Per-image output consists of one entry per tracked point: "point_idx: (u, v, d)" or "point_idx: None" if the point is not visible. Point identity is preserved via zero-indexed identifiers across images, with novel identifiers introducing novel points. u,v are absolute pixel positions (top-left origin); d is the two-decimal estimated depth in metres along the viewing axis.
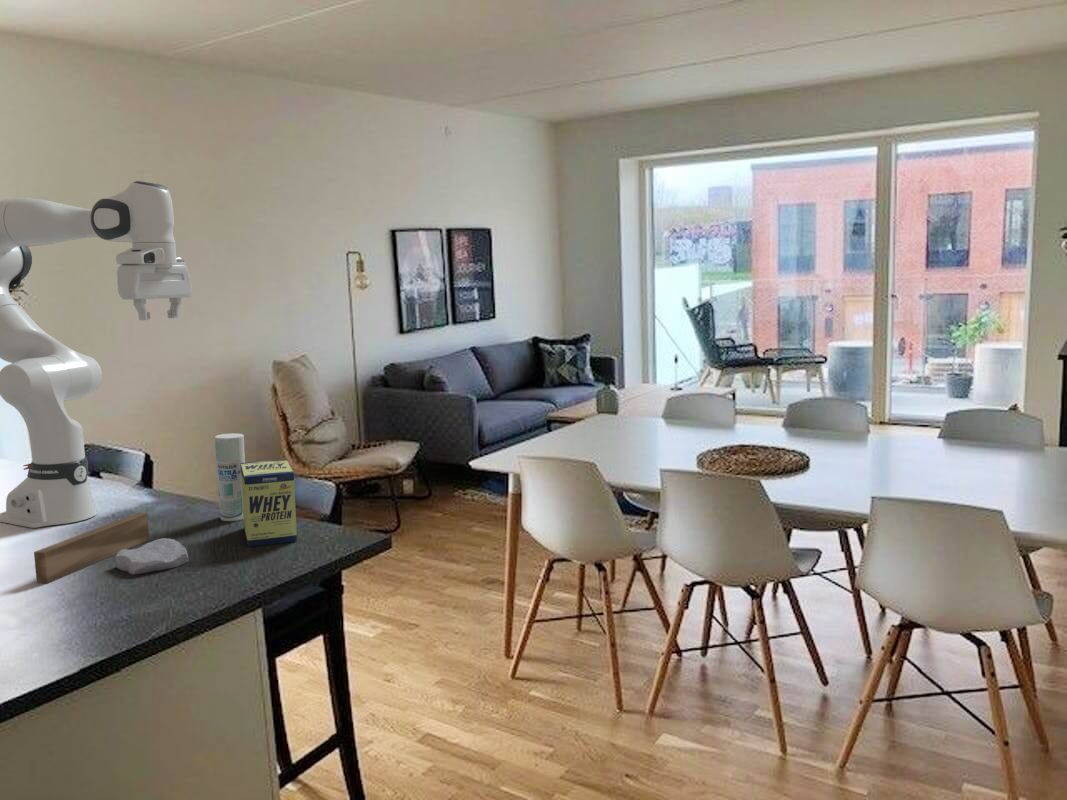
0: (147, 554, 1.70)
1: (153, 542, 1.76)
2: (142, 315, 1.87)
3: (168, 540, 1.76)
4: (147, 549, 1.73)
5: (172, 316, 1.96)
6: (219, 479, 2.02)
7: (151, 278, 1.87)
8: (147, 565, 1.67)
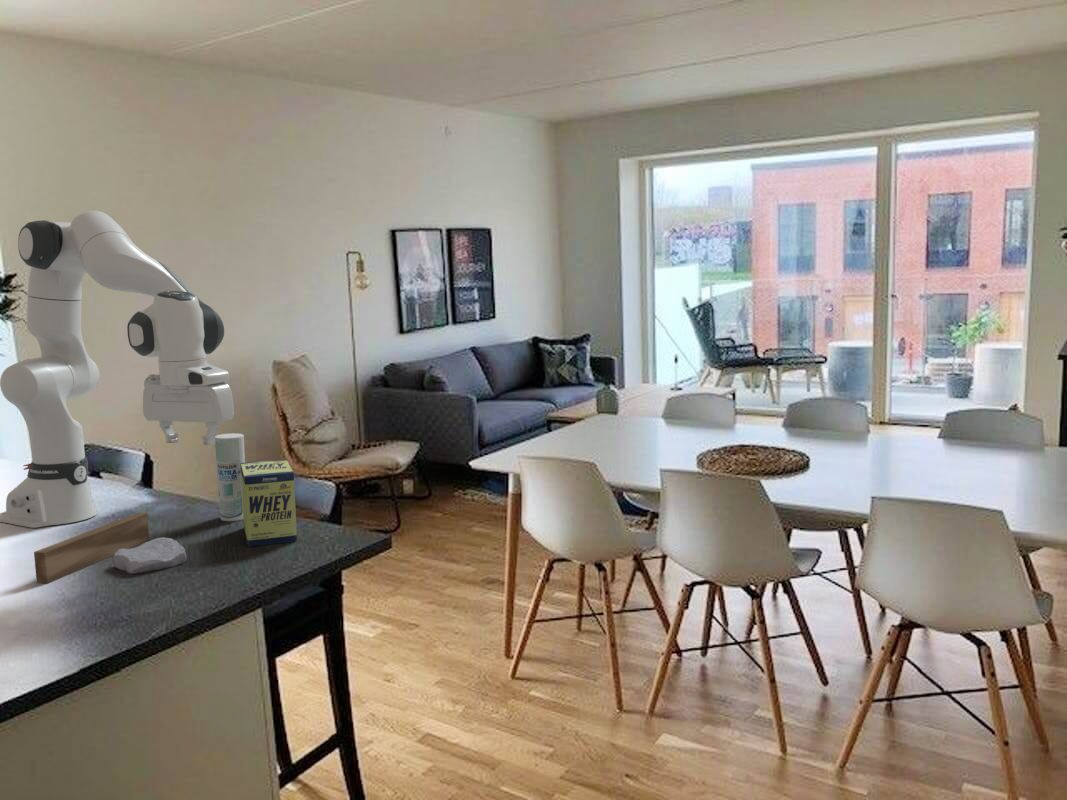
0: (146, 553, 1.71)
1: (151, 541, 1.76)
2: (212, 439, 1.68)
3: (166, 539, 1.76)
4: (145, 548, 1.73)
5: (176, 440, 1.72)
6: (219, 479, 2.02)
7: None
8: (146, 564, 1.68)
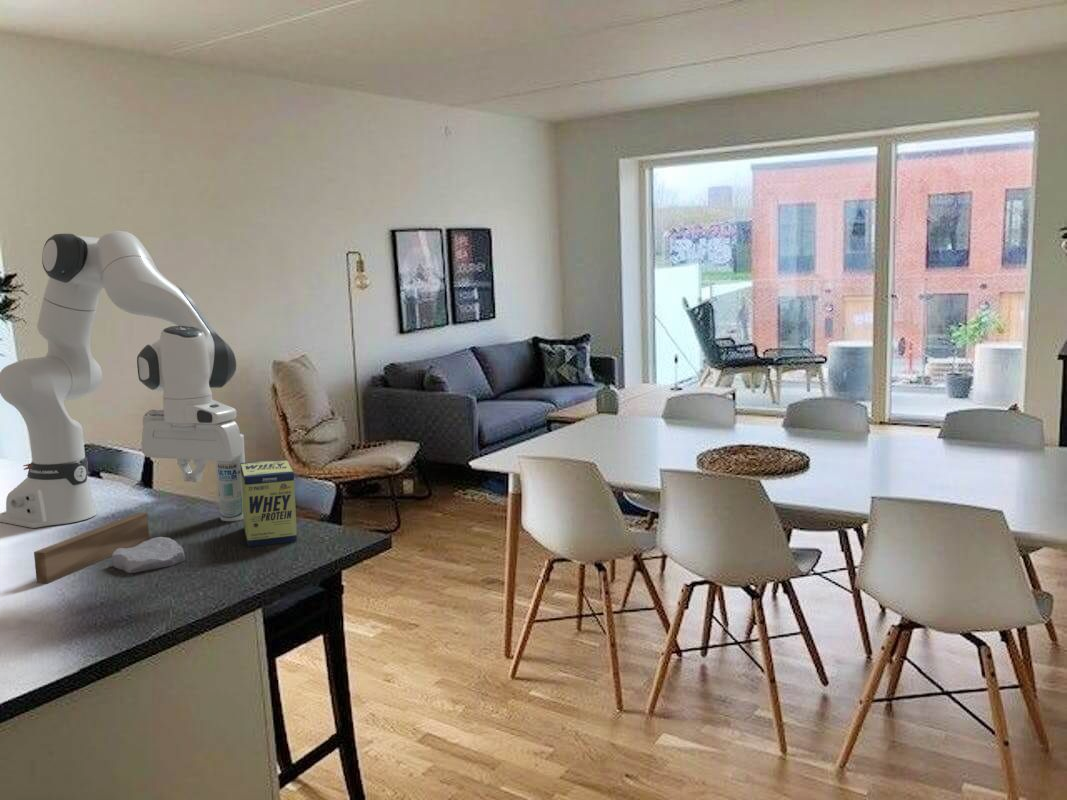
0: (144, 552, 1.71)
1: (149, 541, 1.77)
2: (199, 475, 1.67)
3: (164, 539, 1.77)
4: (143, 548, 1.74)
5: None
6: (219, 479, 2.02)
7: None
8: (144, 563, 1.68)
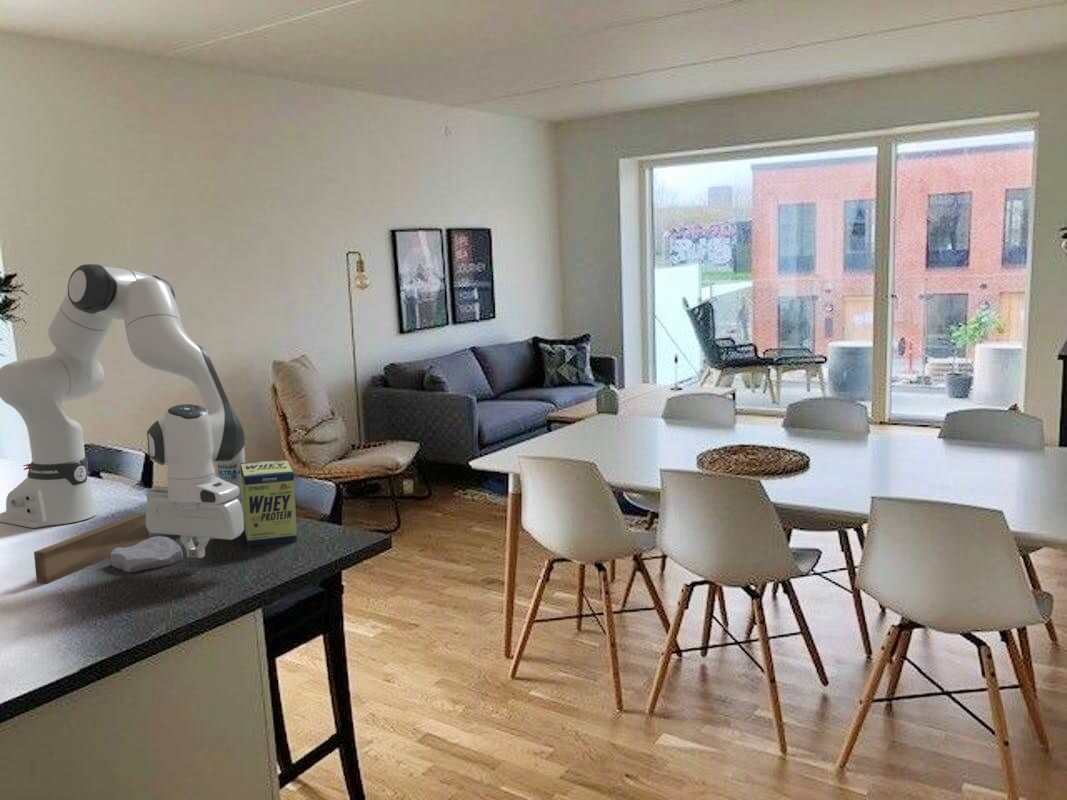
0: (142, 552, 1.71)
1: (147, 540, 1.77)
2: (202, 551, 1.69)
3: (162, 538, 1.77)
4: (141, 547, 1.74)
5: None
6: None
7: None
8: (143, 562, 1.69)
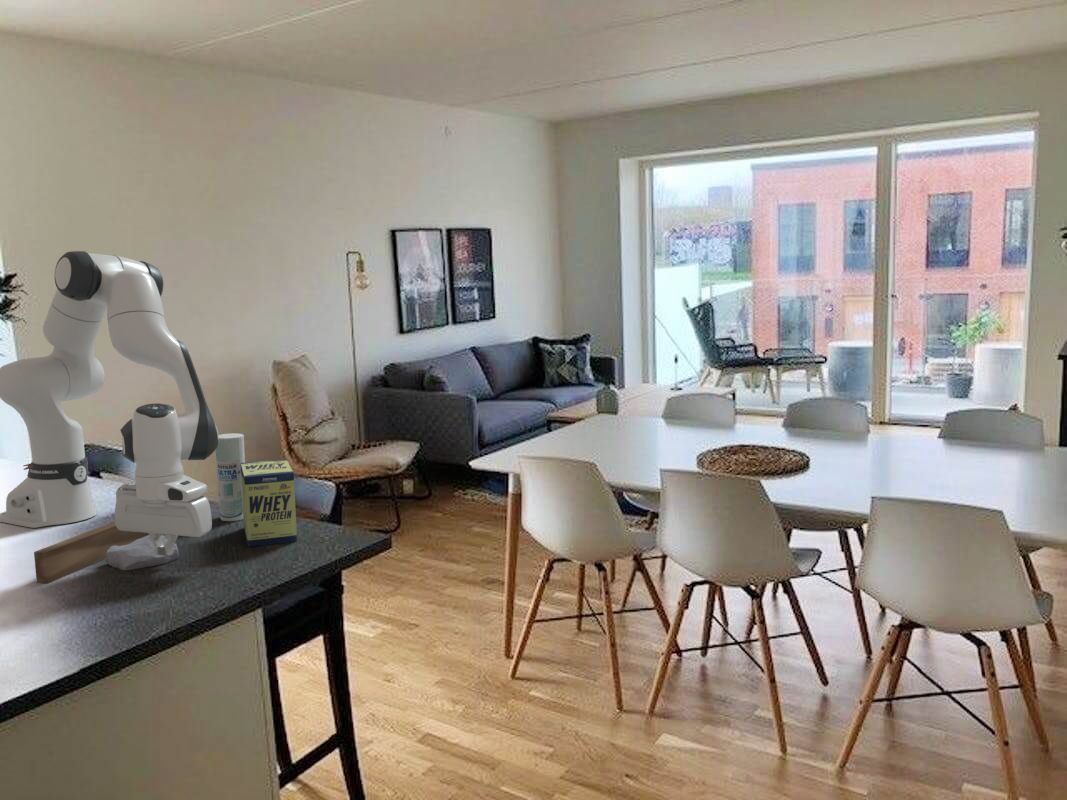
0: (138, 550, 1.72)
1: (143, 538, 1.78)
2: (170, 549, 1.71)
3: None
4: (137, 545, 1.75)
5: None
6: (219, 479, 2.02)
7: None
8: (139, 560, 1.69)
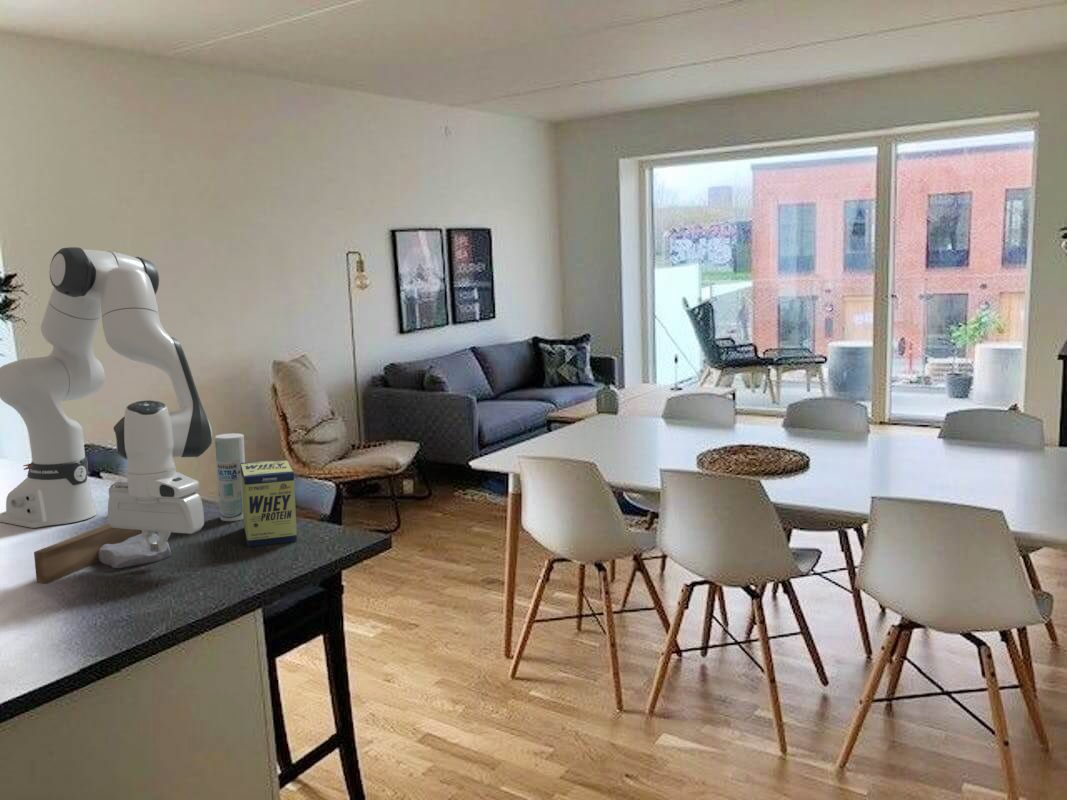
0: (130, 548, 1.74)
1: (135, 537, 1.80)
2: (163, 546, 1.71)
3: None
4: (130, 543, 1.76)
5: None
6: (219, 479, 2.02)
7: None
8: (130, 558, 1.71)
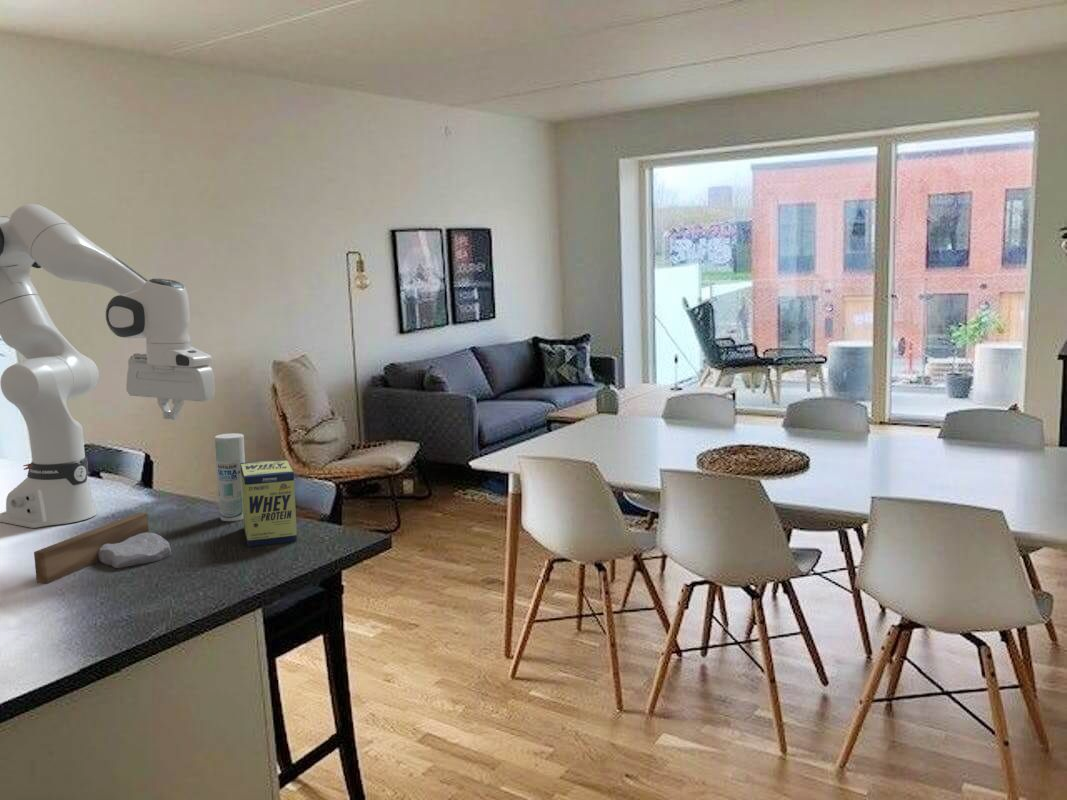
0: (131, 548, 1.74)
1: (135, 536, 1.80)
2: (177, 414, 1.86)
3: (150, 534, 1.80)
4: (130, 543, 1.77)
5: None
6: (219, 479, 2.02)
7: None
8: (131, 558, 1.71)
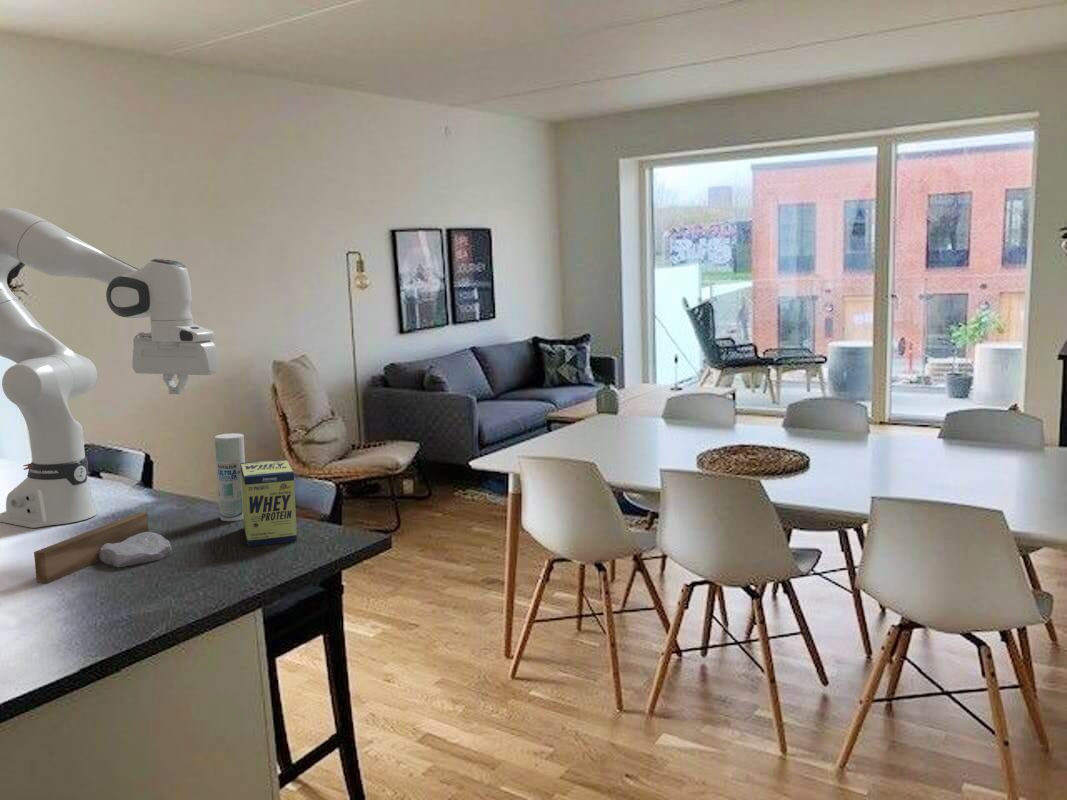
0: (132, 547, 1.74)
1: (136, 536, 1.80)
2: (182, 389, 1.93)
3: (151, 534, 1.80)
4: (131, 543, 1.77)
5: None
6: (219, 479, 2.02)
7: None
8: (133, 557, 1.72)
